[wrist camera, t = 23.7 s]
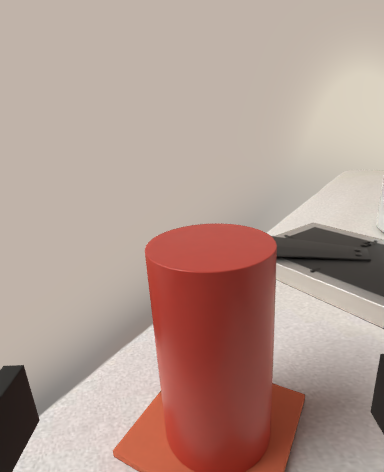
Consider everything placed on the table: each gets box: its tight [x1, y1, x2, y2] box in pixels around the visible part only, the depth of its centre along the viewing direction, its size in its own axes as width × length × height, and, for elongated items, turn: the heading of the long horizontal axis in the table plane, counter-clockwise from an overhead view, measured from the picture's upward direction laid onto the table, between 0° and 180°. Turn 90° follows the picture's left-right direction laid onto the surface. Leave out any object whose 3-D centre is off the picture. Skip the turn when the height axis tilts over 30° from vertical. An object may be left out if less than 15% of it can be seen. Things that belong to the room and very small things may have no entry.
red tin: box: [145, 224, 277, 472], centre depth 18 cm, size 6×6×12 cm
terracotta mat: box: [113, 383, 305, 472], centre depth 20 cm, size 9×9×1 cm
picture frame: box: [271, 223, 384, 328], centre depth 38 cm, size 16×3×21 cm
